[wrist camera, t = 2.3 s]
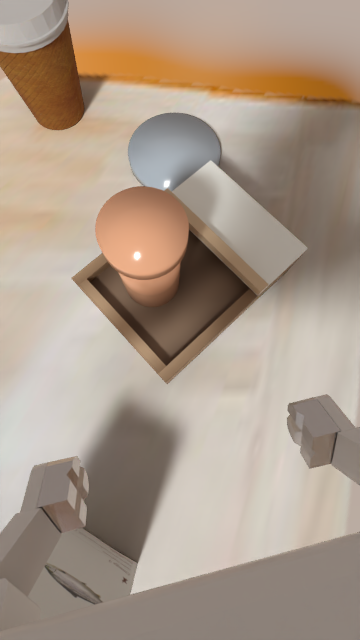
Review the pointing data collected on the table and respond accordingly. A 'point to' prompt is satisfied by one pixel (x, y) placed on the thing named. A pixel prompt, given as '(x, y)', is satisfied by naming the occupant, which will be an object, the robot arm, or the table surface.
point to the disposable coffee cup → (41, 60)
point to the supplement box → (81, 575)
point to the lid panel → (237, 227)
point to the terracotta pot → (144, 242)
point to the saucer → (171, 150)
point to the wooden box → (172, 307)
